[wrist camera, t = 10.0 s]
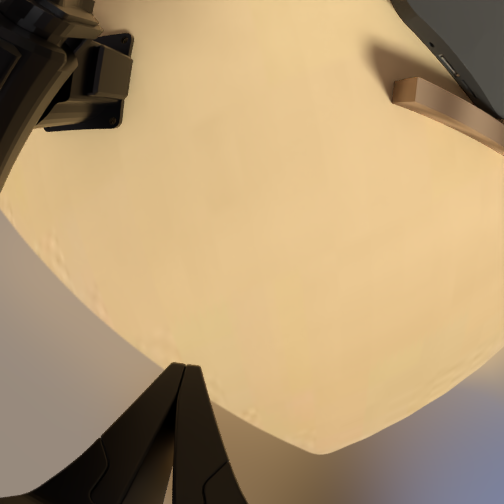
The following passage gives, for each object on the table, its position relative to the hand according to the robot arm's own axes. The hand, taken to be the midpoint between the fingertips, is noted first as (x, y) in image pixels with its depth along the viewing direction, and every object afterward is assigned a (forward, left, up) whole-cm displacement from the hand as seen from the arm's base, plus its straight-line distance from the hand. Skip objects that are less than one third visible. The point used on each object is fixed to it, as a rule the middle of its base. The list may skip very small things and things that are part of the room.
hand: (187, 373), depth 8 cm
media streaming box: (+17, +21, -13) cm, 30 cm away
